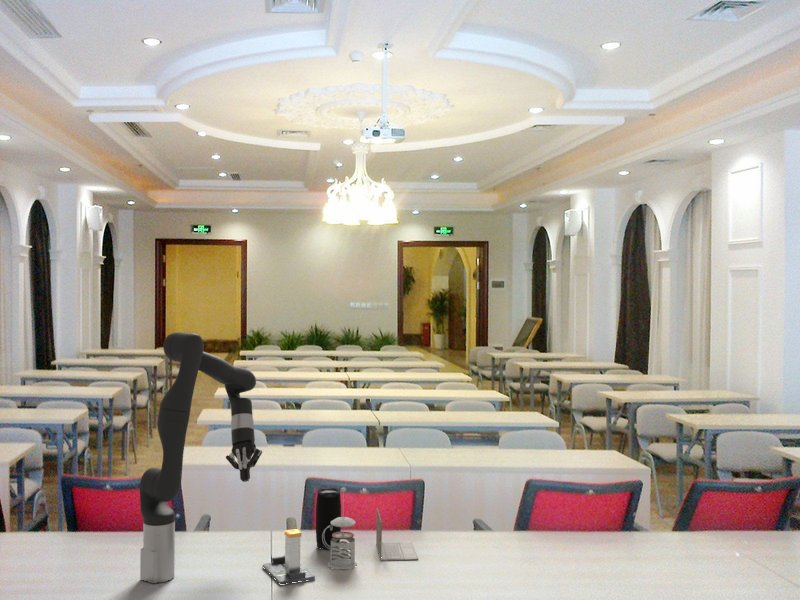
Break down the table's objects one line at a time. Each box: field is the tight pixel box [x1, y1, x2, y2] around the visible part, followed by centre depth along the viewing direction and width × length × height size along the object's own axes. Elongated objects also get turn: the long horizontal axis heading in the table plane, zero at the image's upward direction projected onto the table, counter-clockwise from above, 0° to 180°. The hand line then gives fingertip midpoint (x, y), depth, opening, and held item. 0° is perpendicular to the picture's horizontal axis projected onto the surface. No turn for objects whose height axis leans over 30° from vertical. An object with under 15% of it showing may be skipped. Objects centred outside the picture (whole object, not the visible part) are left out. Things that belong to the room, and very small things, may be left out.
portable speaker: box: [315, 487, 342, 550], centre depth 285 cm, size 9×9×20 cm
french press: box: [322, 487, 358, 570], centre depth 267 cm, size 10×12×25 cm
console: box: [262, 555, 316, 584], centre depth 259 cm, size 17×11×3 cm, turn 27°
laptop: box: [375, 507, 419, 562], centre depth 281 cm, size 18×12×13 cm
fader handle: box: [284, 528, 302, 574], centre depth 255 cm, size 4×4×13 cm
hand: (245, 481), depth 272 cm, fingers closed
